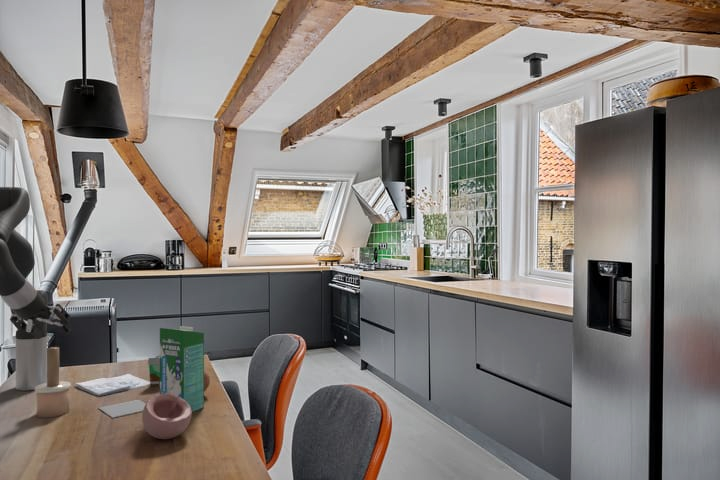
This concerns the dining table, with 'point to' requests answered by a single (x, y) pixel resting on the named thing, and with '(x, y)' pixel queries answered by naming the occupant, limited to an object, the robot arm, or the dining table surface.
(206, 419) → the dining table surface
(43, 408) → the canister
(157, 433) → the pink rounded bowl
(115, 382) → the folded bicycle print towel
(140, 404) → the mat
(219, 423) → the dining table surface
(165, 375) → the milk carton
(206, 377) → the onion
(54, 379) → the beige piece
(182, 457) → the dining table surface
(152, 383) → the food container
